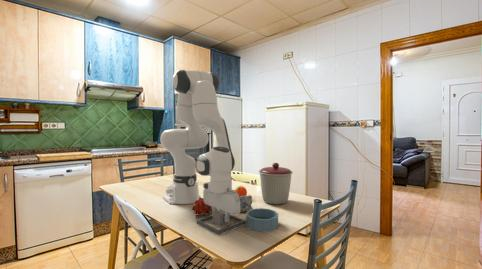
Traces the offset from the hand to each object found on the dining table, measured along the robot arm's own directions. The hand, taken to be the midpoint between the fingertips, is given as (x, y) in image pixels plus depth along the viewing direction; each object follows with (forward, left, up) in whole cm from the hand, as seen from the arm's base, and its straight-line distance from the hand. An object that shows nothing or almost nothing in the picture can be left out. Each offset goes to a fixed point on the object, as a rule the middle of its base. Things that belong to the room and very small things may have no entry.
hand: (221, 219), depth 100 cm
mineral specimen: (-7, +19, -2) cm, 20 cm away
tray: (0, 0, -2) cm, 2 cm away
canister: (-3, +40, -2) cm, 40 cm away
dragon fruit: (-14, +1, -2) cm, 14 cm away
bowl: (+12, +12, -2) cm, 17 cm away
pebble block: (0, 0, -2) cm, 2 cm away
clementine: (-20, +30, -2) cm, 36 cm away
